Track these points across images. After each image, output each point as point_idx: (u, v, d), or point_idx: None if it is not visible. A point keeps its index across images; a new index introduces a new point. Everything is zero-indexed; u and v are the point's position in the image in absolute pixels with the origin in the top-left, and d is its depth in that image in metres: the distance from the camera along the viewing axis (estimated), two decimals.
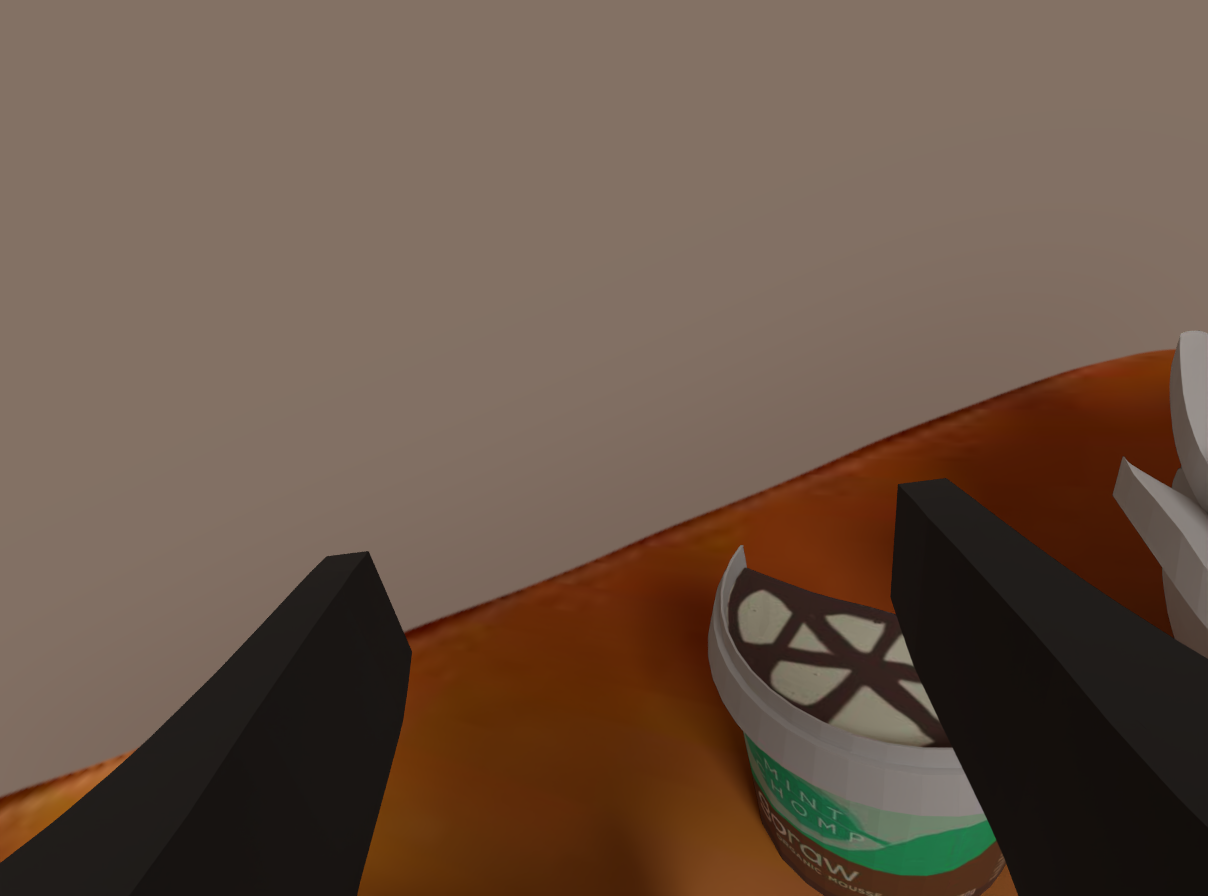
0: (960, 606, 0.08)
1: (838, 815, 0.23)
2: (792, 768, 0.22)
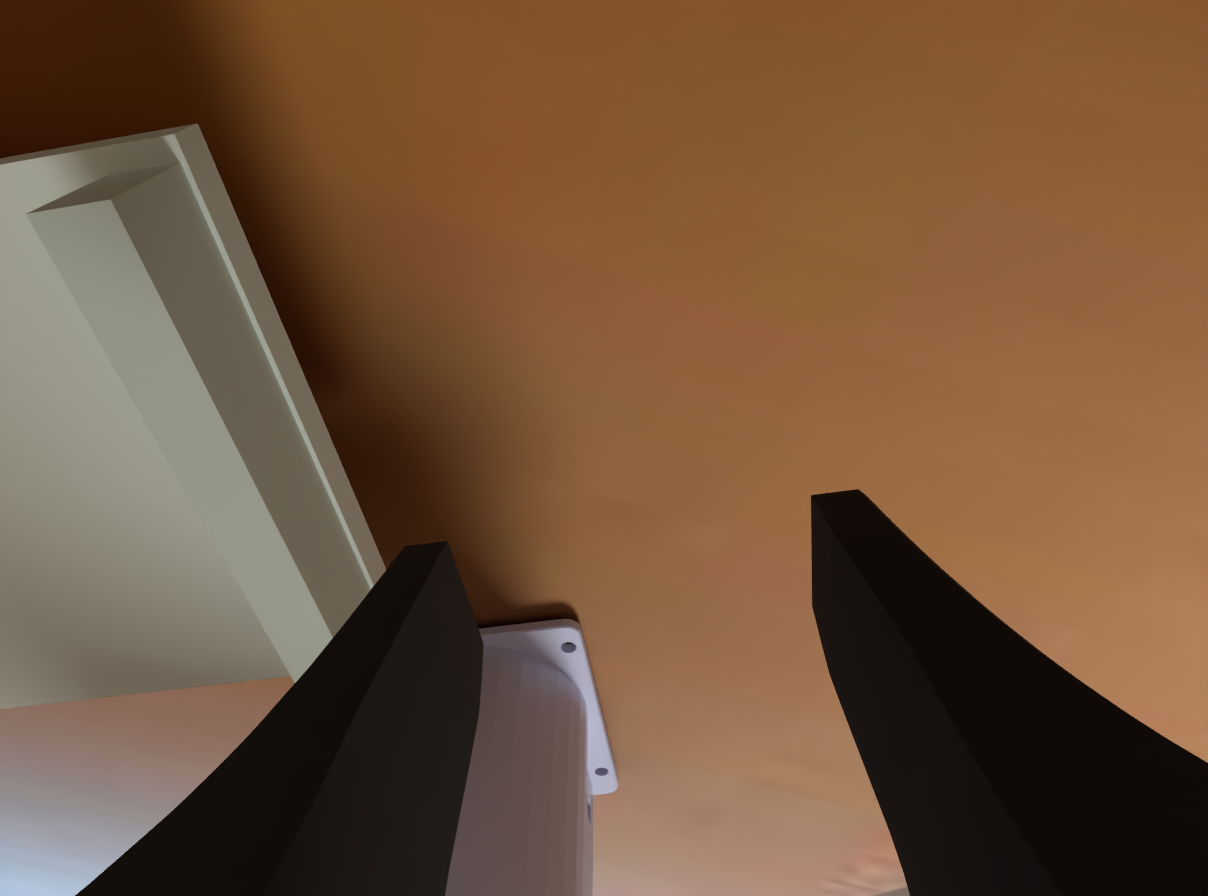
0: (858, 617, 0.08)
1: None
2: None
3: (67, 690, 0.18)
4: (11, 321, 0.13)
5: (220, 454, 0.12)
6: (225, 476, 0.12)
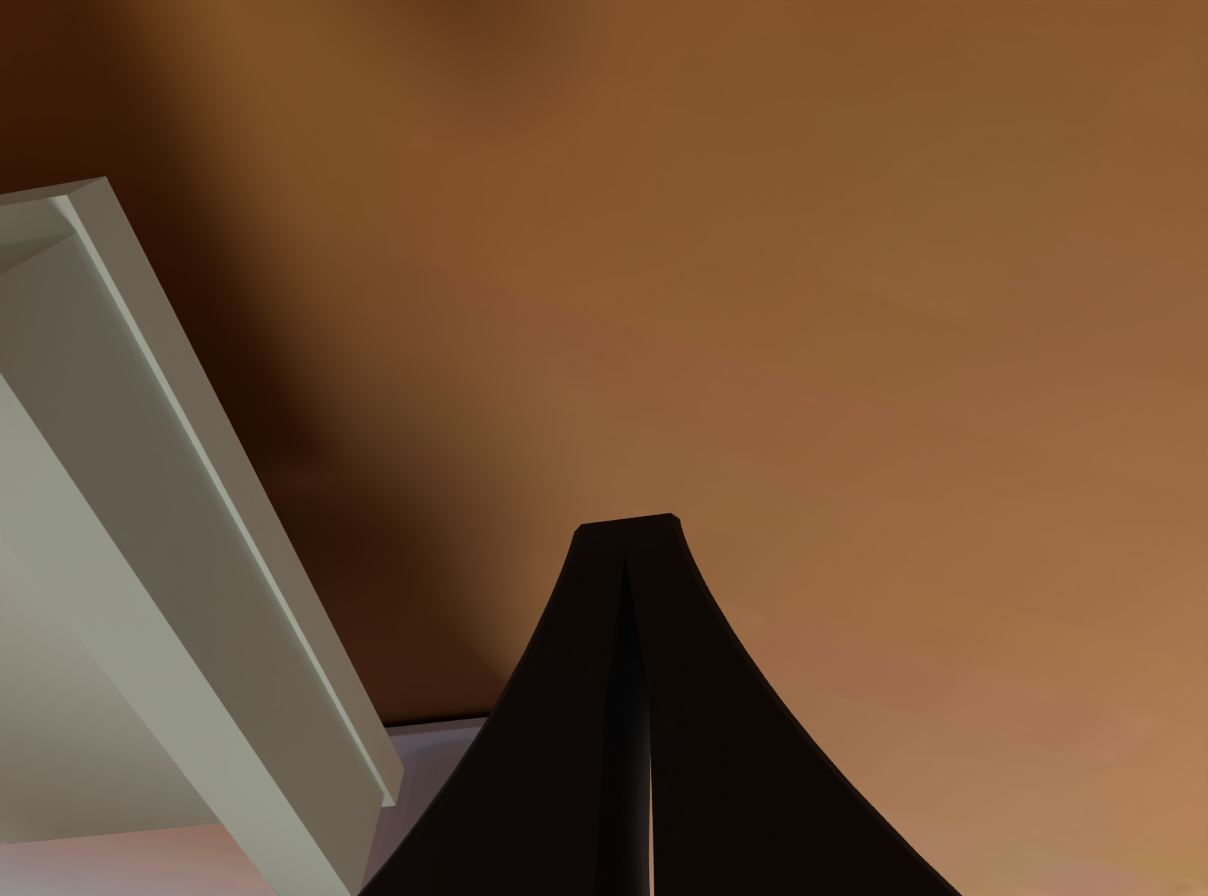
0: None
1: None
2: None
3: None
4: None
5: (137, 616, 0.09)
6: (146, 641, 0.09)
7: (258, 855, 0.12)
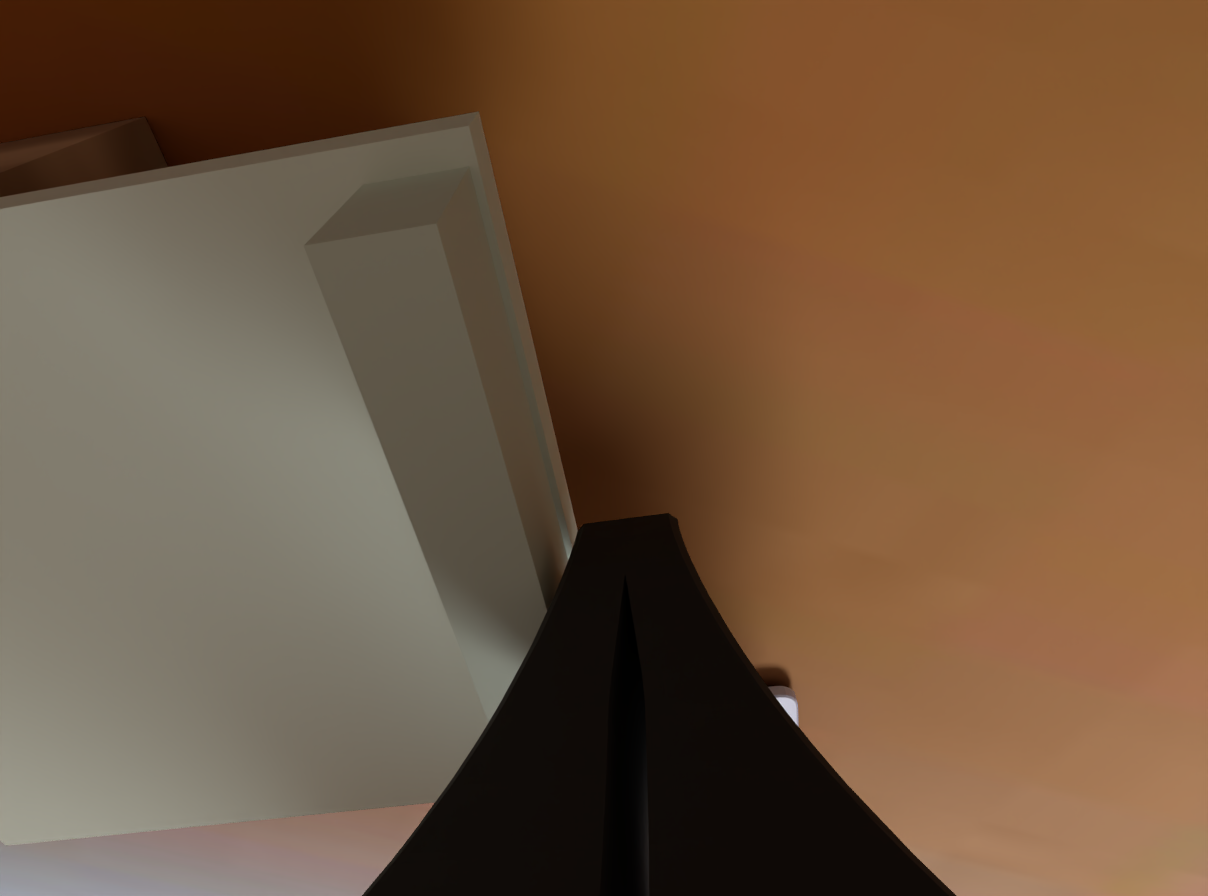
0: None
1: None
2: None
3: (205, 814, 0.15)
4: (200, 382, 0.10)
5: (508, 571, 0.09)
6: (507, 598, 0.09)
7: None
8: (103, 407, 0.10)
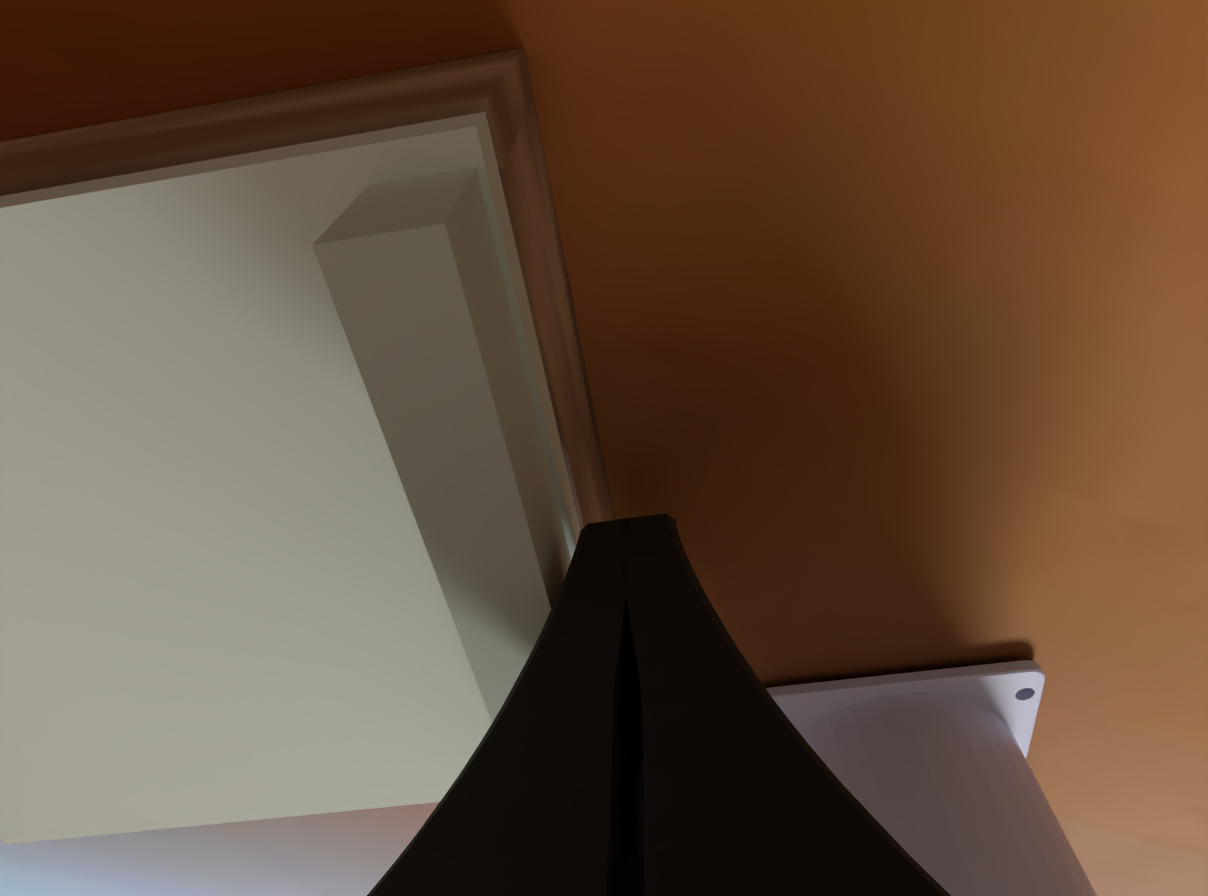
0: None
1: None
2: None
3: (205, 813, 0.15)
4: (204, 381, 0.10)
5: (513, 571, 0.09)
6: (512, 598, 0.09)
7: None
8: (107, 405, 0.10)
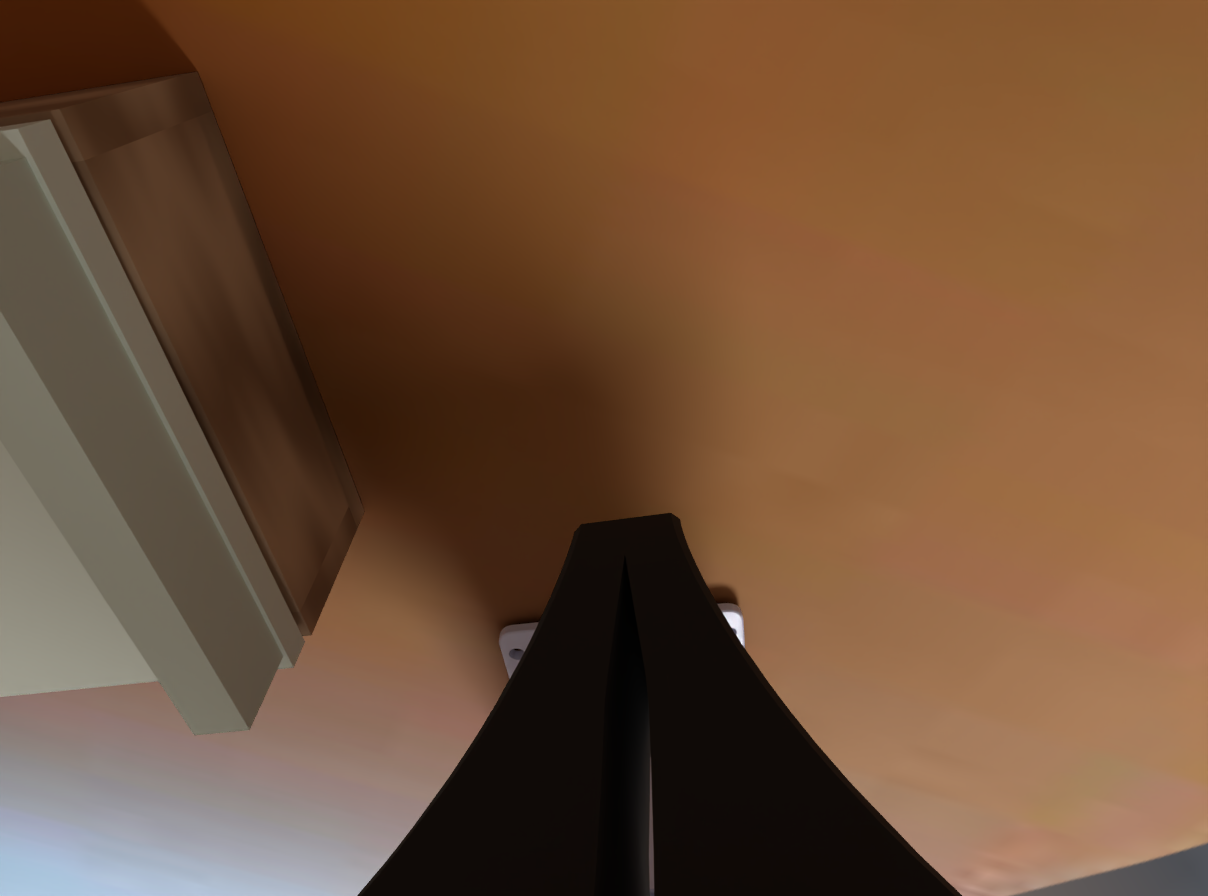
0: None
1: None
2: None
3: None
4: None
5: (63, 450, 0.12)
6: (70, 472, 0.12)
7: (166, 678, 0.15)
8: None
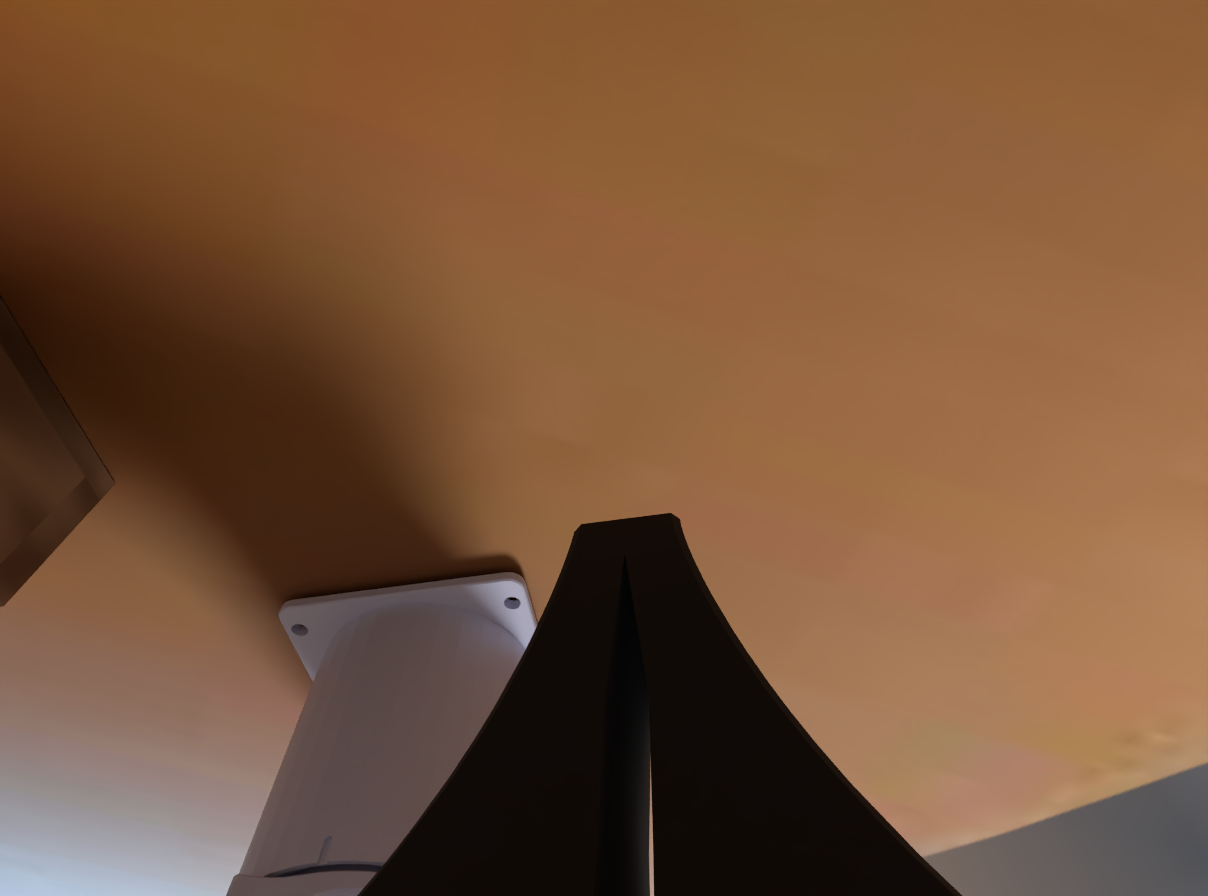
0: None
1: None
2: None
3: None
4: None
5: None
6: None
7: None
8: None
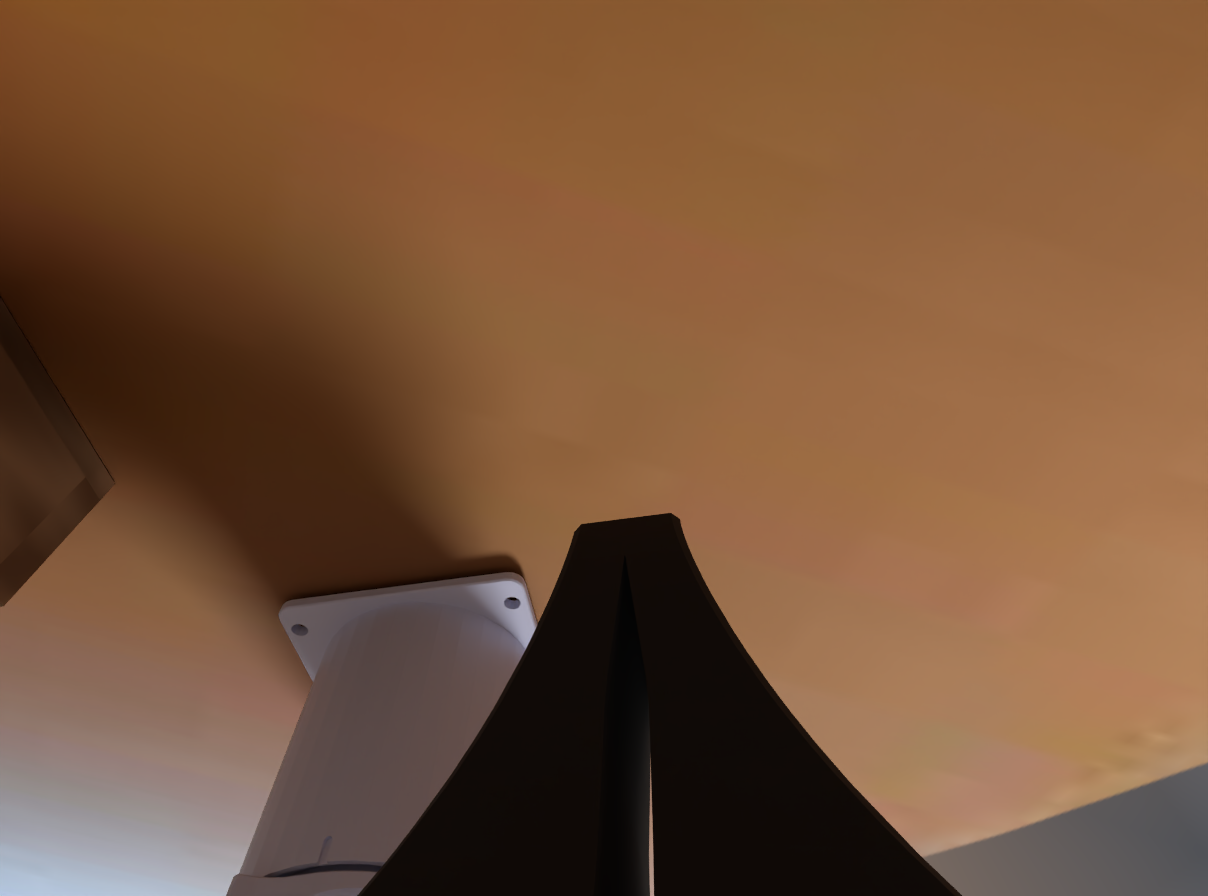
0: None
1: None
2: None
3: None
4: None
5: None
6: None
7: None
8: None
